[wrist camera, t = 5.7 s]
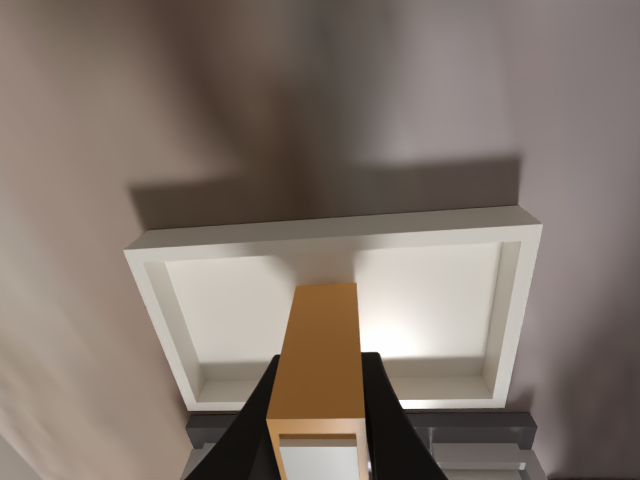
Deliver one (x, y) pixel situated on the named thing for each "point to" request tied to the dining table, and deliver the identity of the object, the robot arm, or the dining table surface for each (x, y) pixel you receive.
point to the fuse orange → (320, 388)
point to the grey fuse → (481, 474)
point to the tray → (372, 291)
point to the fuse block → (427, 440)
